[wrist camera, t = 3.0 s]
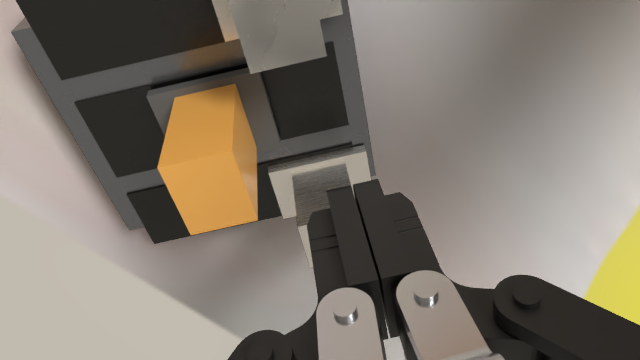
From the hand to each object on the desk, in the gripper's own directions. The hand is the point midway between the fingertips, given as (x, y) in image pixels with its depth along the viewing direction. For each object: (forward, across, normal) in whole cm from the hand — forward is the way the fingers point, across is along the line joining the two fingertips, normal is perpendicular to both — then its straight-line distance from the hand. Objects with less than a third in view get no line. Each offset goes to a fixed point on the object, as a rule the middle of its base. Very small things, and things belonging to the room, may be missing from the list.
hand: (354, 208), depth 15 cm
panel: (+10, +4, 0) cm, 11 cm away
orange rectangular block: (+8, +4, 0) cm, 9 cm away
